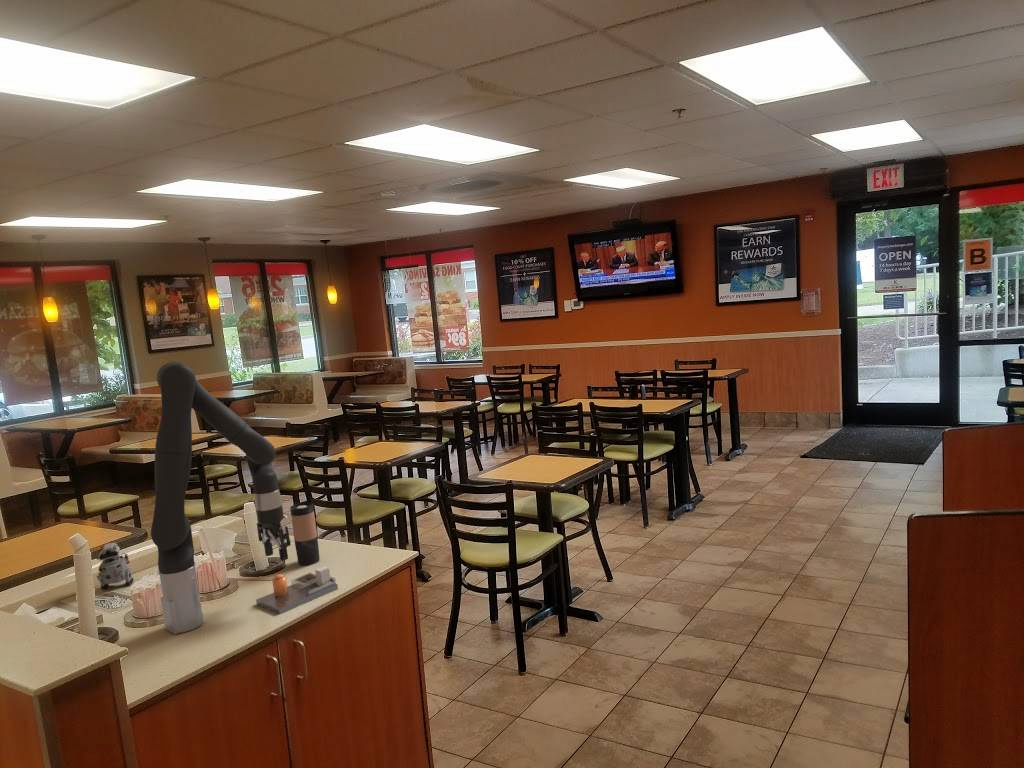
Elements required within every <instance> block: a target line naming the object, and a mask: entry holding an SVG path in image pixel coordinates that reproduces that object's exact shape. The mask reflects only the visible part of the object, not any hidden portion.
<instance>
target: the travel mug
mask: <svg viewBox="0 0 1024 768" xmlns="http://www.w3.org/2000/svg"><path fill="white" fill-rule="evenodd" d="M289 510H290V517H291V518H290V519H291V524H292V530H293V538H294V544H295V545H294V547H295V551H296V552H295V553H296V557H297V563H298V565H299V566H302V567H303V566H304V567H305V566H311V565H314V564H317V563H318V562H320V559H321V558H320V551H319V550H320V549H319V540H318V530H317V525H316V517H315V509H314V504H313V502H309V501H308V502H300V503H296V504H293V505H291V506H290V507H289Z"/></svg>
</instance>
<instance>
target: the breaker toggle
mask: <svg viewBox="0 0 1024 768" xmlns="http://www.w3.org/2000/svg"><path fill="white" fill-rule="evenodd" d="M314 571H315V575H316V580H317V585H318V586H321V585H324V584H325V583H328V582H330V581H331V580H330V577H331V573H330V572H331V571H330V568H329V567H328V566H321V567H319V568H316V569H314Z"/></svg>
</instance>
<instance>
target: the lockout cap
mask: <svg viewBox="0 0 1024 768" xmlns="http://www.w3.org/2000/svg"><path fill="white" fill-rule="evenodd" d="M271 581H272V587H273V593H274V596H276V597H281V596H284V595H286V594H288V581H287V576H286V575H284V574H282V573H278V574H275V575H274V577H273V578H272V579H271Z"/></svg>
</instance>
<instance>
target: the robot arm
mask: <svg viewBox="0 0 1024 768" xmlns="http://www.w3.org/2000/svg"><path fill="white" fill-rule="evenodd" d="M156 382H157V385H158V387H159V388H160V396H161V417H160V421H159V422H160V423H159V426H158V430H157V434H156V439H155V440H156V441H155V449H154V450H155V451H154V491H155V501H154V502H155V503H154V508H153V509H154V510H153V511H154V512H153V515H152V516H153V517H152V522H151V529H150V537H151V540H152V542H153V543H154V545H155V546H156V547H157V556H158V557H157V569H158V574H159V580H160V585H161V587H160V588H161V593H162V597H160V603H161V604H160V605H161V609H162V614H163V621H164V622H163V623H164V628H165V630H166V631H167V632H169V633H171V634H173V635H177V634H180V633H185V632H189V631H192V630H195V629H197V628H199V627H200V626H202V625H203V624H204V615H203V614H204V613H203V607H202V603H201V595H200V591H199V590H200V589H199V582H198V577H197V570H196V563H195V548H194V540H193V531H192V526H191V522H190V519H189V517H188V516H187V515H186V514H185V511H186V510H185V500H186V492H187V489H188V484H189V480H190V475H191V474H190V473H191V470H192V457H193V455H192V454H193V453H192V452H193V429H192V427H193V426H192V410H194V412H196V413H197V414H198V415H200V416H201V418H202V419H204V420H205V421H206V423H208V424H209V425H210V427H212V428H213V429H214V430H215V431H216V432H218V433H219V435H221V436H222V437H223V438H224V439H225V440H227V442H229V443H231V445H234V446H235V447H237V448H239V449H240V450H241V451H242V452H243V453H244V454H245V458H246V462H247V466H248V470H249V472H250V475H251V480H252V481H251V482H252V487H253V488H252V489H253V496H254V498H253V499H254V507H255V513H256V518H257V519H256V520H257V522H256V527H257V528H256V530H257V535H258V536H257V537H258V541H259V542H261V543H262V545H263V546H264V547H263V548H264V553H265V556H266V557H270V556H272V555H274V549H273V543H274V544H276V545H277V547H278V554H279V560H280V561H281V562H284V561H286V560H288V559H289V556H288V548H287V547H290V546H292V545H291V544H292V543H291V538H290V534H289V528H288V526H287V525H286V526H282V524H281V523H282V520H283V519H284V518H285V515H284V509H283V502H282V501H283V500H282V496H281V492H280V488H279V480H278V476H277V473H276V471H275V470H274V469H273V465H272V462H273V461H274V459H275V458H276V452H277V451H276V448H275V446H274V445H273V444H272V442H270V441H269V440H268V439H266V438H265V437H264V436H263V435H261V434H260V433H258V432H257V431H256V430H254V429H253V428H252V427H251V426H250V425H249V424H248V423H247V422H246V421H245V420H244V419H242V417H240V416H239V415H238V414H236V413H235V412H234V411H233V410H232V409H230V408H229V407H228V406H227V405H225V404H224V403H222V402H221V401H220V400H219V399H217V398H216V397H215V396H213V395H212V394H211V393H210V392H209V391H208V390H207V389H206V388H205V387H203V385H202V384H201V383H200V382H199V380H197V378H196V374H195V372H194V371H193V369H192V368H191V367H190V366H188V365H186V364H184V363H182V362H178V361H172V362H171V361H170V362H167V363H165V364H163V365H162V366H160V368H159V370H158V371H157V375H156ZM272 542H273V543H272Z"/></svg>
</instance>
